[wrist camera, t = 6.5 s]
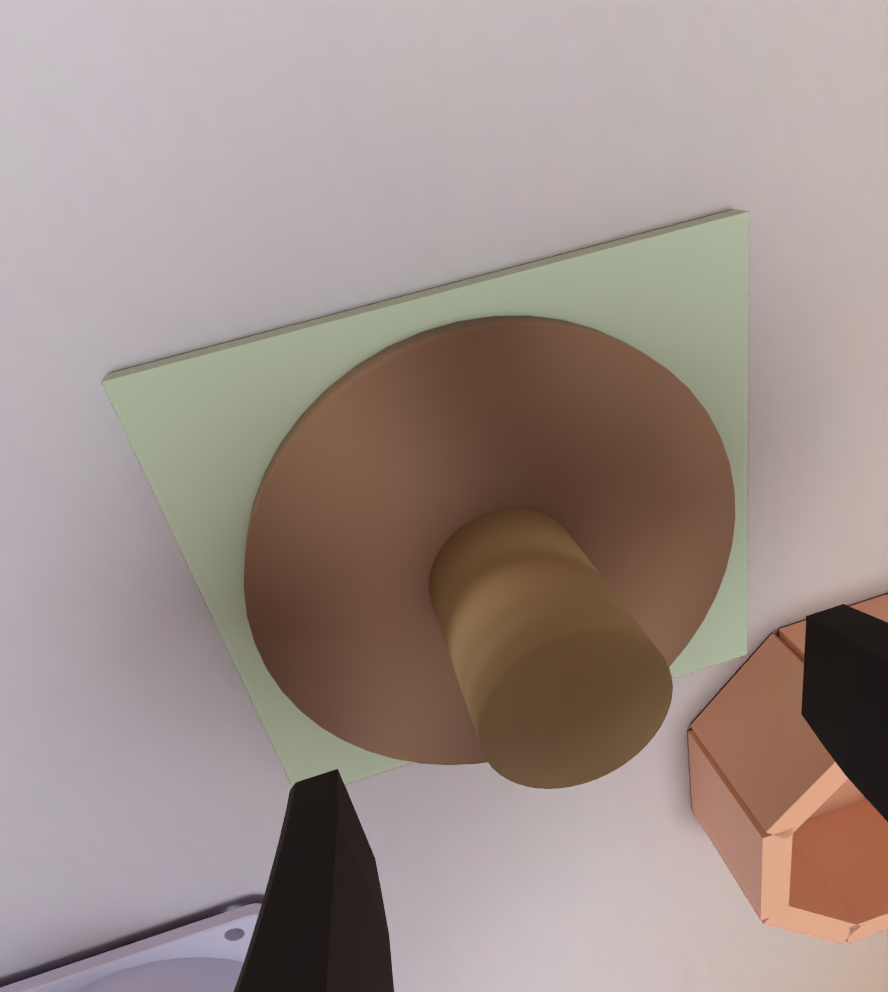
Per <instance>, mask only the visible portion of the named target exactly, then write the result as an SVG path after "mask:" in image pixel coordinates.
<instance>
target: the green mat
mask: <svg viewBox="0 0 888 992" xmlns="http://www.w3.org/2000/svg"><path fill="white" fill-rule="evenodd" d="M491 316H537V317H544V318H552V319H560V320H565V321H569V322H572V323H576V324H580V325H583V326H587V327H590V328H594V329H596V330H599V331H601V332H603V333H605V334H607V335H610V336H612V337H614V338H616V339H618V340H621V341H623V342H625V343H627V344H628V345H630V346H632V347H634V348H636V349H638V350H640V351H641V352H643V353H644V354H646V355H648V356H649V357H651V358H652V359H654V360H655V361H657V362H658V363H660V364H661V365H663V366H664V367H666V368H667V369H668V370H669V371H671V372H672V373H673V374H674V375H675V376H676V377H677V378H678V379H679V380H680V381H681V382H682V383H684V384H685V385H686V386H687V387H688V388H689V389H690V390H691V392H692V393H693V394H694V395H695V397H696V398H697V399H698V401H699V402H700V403H701V404H702V406H703V407H704V408H705V410H706V411H707V412H708V414H709V416H710V418H711V420H712V422H713V423H714V425H715V427H716V429H717V431H718V433H719V435H720V436H721V439H722V442H723V445H724V448H725V451H726V454H727V456H728V459H729V462H730V467H731V473H732V478H733V484H734V489H735V525H734V534H733V544H732V548H731V552H730V556H729V560H728V564H727V568H726V572H725V574H724V577H723V580H722V582H721V585H720V588H719V590H718V593H717V596H716V598H715V600H714V602H713V604H712V605H711V607H710V609H709V611H708V613H707V615H706V617H705V619H704V621H703V622H702V624H701V626H700V627H699V629H698V630H697V632H696V633H695V635H694V636H693V638H692V639H691V641H690V642H689V644H688V645H687V646H686V647H685V649H684V650H683V651H682V652H681V654H680V655H679V656H678V657H677V659H676V660H675V661H674V662H673V663H672V665H671V666H670V667H669V669H670V672H671V676H672V679H673V678H676V677H679V676H682V675H685V674H689V673H692V672H695V671H698V670H701V669H704V668H707V667H710V666H713V665H716V664H719V663H723V662H726V661H729V660H732V659H735V658H738V657H741V656H744V655H747V541H748V327H749V211H742V210H734V209H733V210H729V211H726V212H722V213H718V214H714V215H710V216H707V217H703V218H699V219H695V220H691V221H688V222H684V223H680V224H676V225H672V226H668V227H665V228H661V229H657V230H653V231H649V232H646V233H642V234H638V235H634V236H630V237H627V238H623V239H619V240H615V241H611V242H607V243H604V244H600V245H596V246H592V247H588V248H585V249H581V250H577V251H573V252H569V253H566V254H562V255H558V256H554V257H550V258H547V259H543V260H539V261H535V262H531V263H527V264H524V265H520V266H516V267H512V268H508V269H505V270H501V271H497V272H493V273H489V274H486V275H482V276H478V277H474V278H470V279H466V280H463V281H459V282H455V283H451V284H447V285H444V286H440V287H436V288H432V289H428V290H425V291H421V292H417V293H413V294H409V295H406V296H402V297H398V298H394V299H390V300H386V301H383V302H379V303H375V304H371V305H367V306H364V307H360V308H356V309H352V310H348V311H345V312H341V313H337V314H333V315H329V316H325V317H322V318H318V319H314V320H310V321H306V322H303V323H299V324H295V325H291V326H287V327H284V328H280V329H276V330H272V331H268V332H265V333H261V334H257V335H253V336H249V337H245V338H242V339H238V340H234V341H230V342H226V343H223V344H219V345H215V346H211V347H207V348H204V349H200V350H196V351H192V352H188V353H184V354H181V355H177V356H173V357H169V358H165V359H162V360H158V361H154V362H150V363H146V364H143V365H139V366H135V367H131V368H127V369H124V370H120V371H116V372H112V373H108V374H107V375H106V376H105V378H104V379H103V380H102V382H101V383H102V385H103V387H104V389H105V391H106V393H107V395H108V398H109V400H110V402H111V404H112V406H113V408H114V410H115V412H116V415H117V417H118V419H119V421H120V423H121V425H122V427H123V429H124V432H125V434H126V436H127V438H128V440H129V442H130V444H131V446H132V449H133V451H134V453H135V455H136V457H137V459H138V461H139V463H140V465H141V468H142V470H143V472H144V474H145V476H146V478H147V480H148V482H149V485H150V487H151V489H152V491H153V493H154V495H155V497H156V499H157V502H158V504H159V506H160V508H161V510H162V512H163V514H164V516H165V519H166V521H167V523H168V525H169V527H170V529H171V531H172V533H173V535H174V538H175V540H176V542H177V544H178V546H179V548H180V550H181V552H182V555H183V557H184V559H185V561H186V563H187V565H188V567H189V569H190V572H191V574H192V576H193V578H194V580H195V582H196V584H197V586H198V589H199V591H200V593H201V595H202V597H203V599H204V601H205V603H206V605H207V608H208V610H209V612H210V614H211V616H212V618H213V620H214V622H215V625H216V627H217V629H218V631H219V633H220V635H221V637H222V639H223V642H224V644H225V646H226V648H227V650H228V652H229V654H230V656H231V659H232V661H233V663H234V665H235V667H236V669H237V671H238V673H239V675H240V678H241V680H242V682H243V684H244V686H245V688H246V690H247V692H248V695H249V697H250V699H251V701H252V703H253V705H254V707H255V709H256V712H257V714H258V716H259V718H260V720H261V722H262V724H263V726H264V729H265V731H266V733H267V735H268V737H269V739H270V741H271V743H272V745H273V748H274V750H275V752H276V754H277V756H278V758H279V760H280V762H281V765H282V767H283V769H284V771H285V773H286V775H287V777H288V779H289V782H290V784H291V786H292V787H293V785H294V784H295V783H296V782H298V781H302V780H305V779H308V778H311V777H314V776H317V775H320V774H323V773H326V772H329V771H332V770H335V769H338V770H339V773H340V775H341V778H342V780H343V782H344V785H345V784H348V783H352V782H355V781H358V780H361V779H364V778H367V777H370V776H373V775H376V774H379V773H382V772H386V771H389V770H392V769H395V768H398V767H401V766H404V765H407V764H410V763H413V762H410V761H404V760H398V759H393V758H390V757H386V756H383V755H379V754H376V753H372V752H369V751H366V750H364V749H362V748H359V747H357V746H355V745H352V744H350V743H348V742H345V741H343V740H342V739H340V738H338V737H336V736H335V735H333V734H331V733H330V732H328V731H326V730H325V729H323V728H321V727H320V726H319V725H317V724H316V723H315V722H314V721H312V720H311V719H310V718H309V717H307V716H306V715H305V714H304V713H302V712H301V711H300V710H299V709H298V708H297V707H296V706H295V705H294V704H293V703H292V702H291V700H290V699H289V698H288V697H287V696H286V695H285V694H284V693H283V692H282V691H281V689H280V688H279V686H278V685H277V683H276V682H275V680H274V679H273V678H272V676H271V675H270V673H269V672H268V670H267V669H266V667H265V664H264V662H263V660H262V658H261V656H260V654H259V652H258V650H257V647H256V645H255V643H254V639H253V636H252V632H251V629H250V625H249V622H248V618H247V613H246V604H245V595H244V565H245V549H246V537H247V531H248V526H249V521H250V516H251V511H252V506H253V502H254V500H255V497H256V494H257V492H258V489H259V486H260V483H261V481H262V478H263V475H264V473H265V471H266V469H267V467H268V465H269V463H270V462H271V460H272V458H273V456H274V454H275V452H276V450H277V449H278V447H279V445H280V443H281V442H282V440H283V439H284V438H285V436H286V435H287V434H288V432H289V431H290V430H291V428H292V427H293V425H294V424H295V423H296V421H297V420H298V419H299V417H300V416H301V415H302V414H303V413H304V412H305V411H306V410H307V409H308V408H309V406H310V405H311V404H312V403H313V402H314V401H315V400H316V399H317V398H318V397H319V396H320V395H321V394H322V393H323V392H324V391H325V390H326V389H327V388H328V387H330V386H331V385H332V384H333V383H335V382H336V381H337V380H338V379H340V378H341V377H342V376H344V375H345V374H346V373H347V372H349V371H350V370H351V369H352V368H354V367H355V366H356V365H358V364H360V363H361V362H363V361H365V360H366V359H368V358H370V357H371V356H373V355H375V354H376V353H378V352H380V351H381V350H383V349H385V348H386V347H388V346H390V345H393V344H395V343H397V342H400V341H402V340H404V339H407V338H409V337H411V336H413V335H416V334H418V333H420V332H423V331H426V330H430V329H433V328H437V327H440V326H444V325H447V324H451V323H454V322H458V321H464V320H471V319H477V318H484V317H491Z"/></svg>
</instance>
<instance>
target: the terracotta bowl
mask: <svg viewBox="0 0 888 992" xmlns="http://www.w3.org/2000/svg"><path fill="white" fill-rule="evenodd" d="M849 607H852V608H854V609H857V610H859V611H862V612H864V613H866V614H869V615H871V616H874V617H876V618H878V619H881V620H883V621H885V622H888V594H886V595H883V596H880V597H876V598H873V599H870V600H867V601H864V602H861V603H858V604H855V605H852V606H849ZM805 633H806V620H805V621H802V622H799V623H796V624H792V625H789V626H786V627H783V628H780V629H779V637H778V636H776V635H774V634H771V635H770V636H769V637H768V638H767V640H766V641H765V642H764V643H763V644H762V645H761V646H760V647H759V649H758V650H757V651H756V652H755V653H754V654H753V655H752V657H751V658H750V659H749V660H748V661H747V662H746V663H745V664H744V666H743V667H742V668H741V669H740V670H739V671H738V672H737V673H736V675H735V676H734V677H733V678H732V679H731V680H730V681H729V682H728V684H727V685H726V686H725V687H724V688H723V689H722V690H721V691H720V693H719V694H718V695H717V696H716V697H715V698H714V699H713V700H712V702H711V703H710V704H709V705H708V706H707V707H706V708H705V709H704V711H703V712H702V713H701V714H700V715H699V716H698V717H697V718H696V720H695V721H694V722H693V723H692V724H691V725H690V726H691V728H692V729H693V730H690V731H688V745H689V764H690V783H691V801H692V811H693V813H694V814H695V816H696V817H697V819H698V821H699V822H700V824H701V825H702V827H703V829H704V830H705V832H706V833H707V835H708V837H709V838H710V840H711V841H712V843H713V845H714V846H715V848H716V850H717V851H718V853H719V854H720V856H721V858H722V859H723V861H724V862H725V864H726V866H727V867H728V869H729V870H730V872H731V874H732V875H733V877H734V878H735V880H736V882H737V883H738V885H739V887H740V888H741V890H742V891H743V893H744V895H745V896H746V898H747V899H748V901H749V903H750V904H751V906H752V907H753V909H754V911H755V912H756V914H757V915H758V917H759V919H760V920H761V921H762V922H763V924H766V925H770V926H774V927H778V928H782V929H786V930H790V931H794V932H798V933H802V934H805V935H809V936H813V937H817V938H821V939H825V940H829V941H833V942H837V943H841V944H842V943H843V942H844V941H845V940H846V941H847V943H849V942H852V941H854V940H857V939H860V938H863V937H865V936H868V935H871V934H873V933H876V932H879V931H882V930H884V929H887V928H888V822H887V821H886V820H885V819H884V817H883V816H882V815H881V814H880V813H879V812H878V811H877V810H876V809H875V808H874V806H873V805H872V804H871V803H870V802H869V801H868V800H867V799H866V798H865V797H864V795H863V794H862V793H861V792H860V791H859V790H858V789H857V788H856V787H855V785H854V784H853V783H852V782H851V781H850V780H849V779H848V778H847V776H846V775H845V774H844V773H843V771H842V770H841V769H840V767H839V766H838V765H837V763H836V762H835V761H834V759H833V758H832V757H831V755H830V754H829V753H828V751H827V750H826V749H825V747H824V746H823V744H822V743H821V742H820V740H819V739H818V737H817V736H816V734H815V733H814V732H813V730H812V729H811V727H810V726H809V724H808V723H807V722H806V720H805V719H804V717H803V716H802V715H801V709H802V690H803V671H804V652H805Z"/></svg>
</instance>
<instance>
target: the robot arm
mask: <svg viewBox="0 0 888 992" xmlns="http://www.w3.org/2000/svg"><path fill="white" fill-rule="evenodd" d="M801 715H802V716H803V717H804V719H805V720H806V722H807V723H808V724H809V726H810V727H811V729H812V730H813V732H814V733H815V734H816V736H817V737H818V739H819V740H820V742H821V743H822V744H823V746H824V747H825V749H826V750H827V751H828V753H829V754H830V755H831V757H832V758H833V759H834V761H835V762H836V763H837V765H838V766H839V767H840V769H841V770H842V771H843V773H844V774H845V775H846V776H847V778H848V779H849V780H850V781H851V782H852V783H853V784H854V785H855V787H856V788H857V789H858V790H859V791H860V792H861V793H862V794H863V795H864V797H865V798H866V799H867V800H868V801H869V802H870V803H871V804H872V805H873V806H874V808H875V809H876V810H877V811H878V812H879V813H880V814H881V815H882V816H883V817H884V819H885V820H886V821H887V822H888V622H885V621H883V620H881V619H878V618H876V617H874V616H871V615H869V614H866V613H864V612H862V611H859V610H857V609H854V608H852V607H849V606H847V605H844V604H843V605H840V606H836V607H833V608H830V609H827V610H824V611H821V612H818V613H815V614H812V615H809V616H806V633H805V652H804V671H803V690H802V709H801ZM0 992H394V987H393V976H392V964H391V953H390V941H389V933H388V927H387V921H386V916H385V910H384V904H383V899H382V893H381V888H380V883H379V877H378V872H377V866H376V861H375V857H374V855H373V853H372V850H371V848H370V845H369V843H368V840H367V838H366V836H365V833H364V831H363V828H362V826H361V824H360V821H359V819H358V816H357V814H356V811H355V809H354V807H353V804H352V802H351V799H350V797H349V794H348V792H347V790H346V787H345V785H344V782H343V780H342V778H341V775H340V773H339V770H338V769H335V770H332V771H329V772H326V773H323V774H320V775H317V776H314V777H311V778H308V779H305V780H302V781H298V782H296V783H295V784H294V785H293V787H292V788H291V790H290V793H289V799H288V804H287V809H286V813H285V818H284V822H283V826H282V831H281V835H280V839H279V843H278V847H277V851H276V855H275V859H274V862H273V866H272V870H271V874H270V877H269V881H268V885H267V888H266V892H265V895H264V898H263V902H262V904H261V903H253V904H248V905H245V906H242V907H239V908H236V909H233V910H230V911H227V912H224V913H221V914H218V915H215V916H212V917H209V918H206V919H203V920H200V921H197V922H194V923H191V924H188V925H185V926H182V927H179V928H176V929H173V930H170V931H167V932H164V933H161V934H158V935H155V936H152V937H149V938H146V939H143V940H140V941H137V942H134V943H131V944H128V945H125V946H122V947H119V948H117V949H114V950H111V951H108V952H105V953H102V954H99V955H96V956H93V957H90V958H87V959H84V960H81V961H78V962H75V963H72V964H69V965H66V966H63V967H60V968H57V969H54V970H51V971H48V972H45V973H42V974H39V975H36V976H33V977H30V978H27V979H24V980H21V981H18V982H15V983H12V984H9V985H6V986H3V987H0Z"/></svg>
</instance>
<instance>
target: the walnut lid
mask: <svg viewBox="0 0 888 992" xmlns="http://www.w3.org/2000/svg"><path fill="white" fill-rule="evenodd" d="M734 525H735V489H734V484H733V478H732V473H731V467H730V462H729V459H728V456H727V454H726V451H725V448H724V445H723V442H722V439H721V436H720V435H719V433H718V431H717V429H716V427H715V425H714V423H713V422H712V420H711V418H710V416H709V414H708V412H707V411H706V410H705V408H704V407H703V406H702V404H701V403H700V402H699V401H698V399H697V398H696V397H695V395H694V394H693V393H692V392H691V390H690V389H689V388H688V387H687V386H686V385H685V384H684V383H682V382H681V381H680V380H679V379H678V378H677V377H676V376H675V375H674V374H673V373H672V372H671V371H669V370H668V369H667V368H666V367H664V366H663V365H661V364H660V363H658V362H657V361H655V360H654V359H652V358H651V357H649V356H648V355H646V354H644V353H643V352H641V351H640V350H638V349H636V348H634V347H632V346H630V345H628V344H627V343H625V342H623V341H621V340H618V339H616V338H614V337H612V336H610V335H607V334H605V333H603V332H601V331H599V330H596V329H594V328H590V327H587V326H583V325H580V324H576V323H572V322H569V321H565V320H560V319H552V318H544V317H537V316H491V317H484V318H477V319H471V320H464V321H458V322H454V323H451V324H447V325H444V326H440V327H437V328H433V329H430V330H426V331H423V332H420V333H418V334H416V335H413V336H411V337H409V338H407V339H404V340H402V341H400V342H397V343H395V344H393V345H390V346H388V347H386V348H385V349H383V350H381V351H380V352H378V353H376V354H375V355H373V356H371V357H370V358H368V359H366V360H365V361H363V362H361V363H360V364H358V365H356V366H355V367H354V368H352V369H351V370H350V371H349V372H347V373H346V374H345V375H344V376H342V377H341V378H340V379H338V380H337V381H336V382H335V383H333V384H332V385H331V386H330V387H328V388H327V389H326V390H325V391H324V392H323V393H322V394H321V395H320V396H319V397H318V398H317V399H316V400H315V401H314V402H313V403H312V404H311V405H310V406H309V408H308V409H307V410H306V411H305V412H304V413H303V414H302V415H301V416H300V417H299V419H298V420H297V421H296V423H295V424H294V425H293V427H292V428H291V430H290V431H289V432H288V434H287V435H286V436H285V438H284V439H283V440H282V442H281V443H280V445H279V447H278V449H277V450H276V452H275V454H274V456H273V458H272V460H271V462H270V463H269V465H268V467H267V469H266V471H265V473H264V475H263V478H262V481H261V483H260V486H259V489H258V492H257V494H256V497H255V500H254V502H253V506H252V511H251V516H250V521H249V526H248V531H247V537H246V549H245V565H244V595H245V604H246V613H247V618H248V622H249V625H250V629H251V632H252V636H253V639H254V643H255V645H256V647H257V650H258V652H259V654H260V656H261V658H262V660H263V662H264V664H265V667H266V669H267V670H268V672H269V673H270V675H271V676H272V678H273V679H274V680H275V682H276V683H277V685H278V686H279V688H280V689H281V691H282V692H283V693H284V694H285V695H286V696H287V697H288V698H289V699H290V700H291V702H292V703H293V704H294V705H295V706H296V707H297V708H298V709H299V710H300V711H301V712H302V713H304V714H305V715H306V716H307V717H309V718H310V719H311V720H312V721H314V722H315V723H316V724H317V725H319V726H320V727H321V728H323V729H325V730H326V731H328V732H330V733H331V734H333V735H335V736H336V737H338V738H340V739H342V740H343V741H345V742H348V743H350V744H352V745H355V746H357V747H359V748H362V749H364V750H366V751H369V752H372V753H376V754H379V755H383V756H386V757H390V758H393V759H398V760H404V761H410V762H416V763H423V764H441V765H458V764H477V763H484V762H488V763H489V764H490V765H491V766H492V768H493V769H494V770H496V771H497V772H498V773H499V774H500V775H502V776H503V777H505V778H506V779H508V780H510V781H513V782H515V783H517V784H520V785H524V786H527V787H533V788H544V789H553V788H564V787H571V786H575V785H579V784H583V783H587V782H589V781H592V780H595V779H598V778H600V777H602V776H604V775H606V774H608V773H610V772H612V771H614V770H616V769H617V768H619V767H621V766H622V765H623V764H625V763H626V762H628V761H629V760H630V759H632V758H633V757H634V756H635V755H637V754H638V753H639V752H640V751H641V750H642V749H643V748H644V747H645V746H646V745H647V744H648V743H649V742H650V740H651V739H652V738H653V737H654V736H655V734H656V733H657V731H658V730H659V728H660V727H661V725H662V723H663V721H664V719H665V717H666V715H667V712H668V709H669V707H670V702H671V698H672V688H673V685H672V676H671V672H670V669H669V667H670V666H671V665H672V663H673V662H674V661H675V660H676V659H677V657H678V656H679V655H680V654H681V652H682V651H683V650H684V649H685V647H686V646H687V645H688V644H689V642H690V641H691V639H692V638H693V636H694V635H695V633H696V632H697V630H698V629H699V627H700V626H701V624H702V622H703V621H704V619H705V617H706V615H707V613H708V611H709V609H710V607H711V605H712V604H713V602H714V600H715V598H716V596H717V593H718V590H719V588H720V585H721V582H722V580H723V577H724V574H725V572H726V568H727V564H728V560H729V556H730V552H731V548H732V544H733V534H734Z"/></svg>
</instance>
